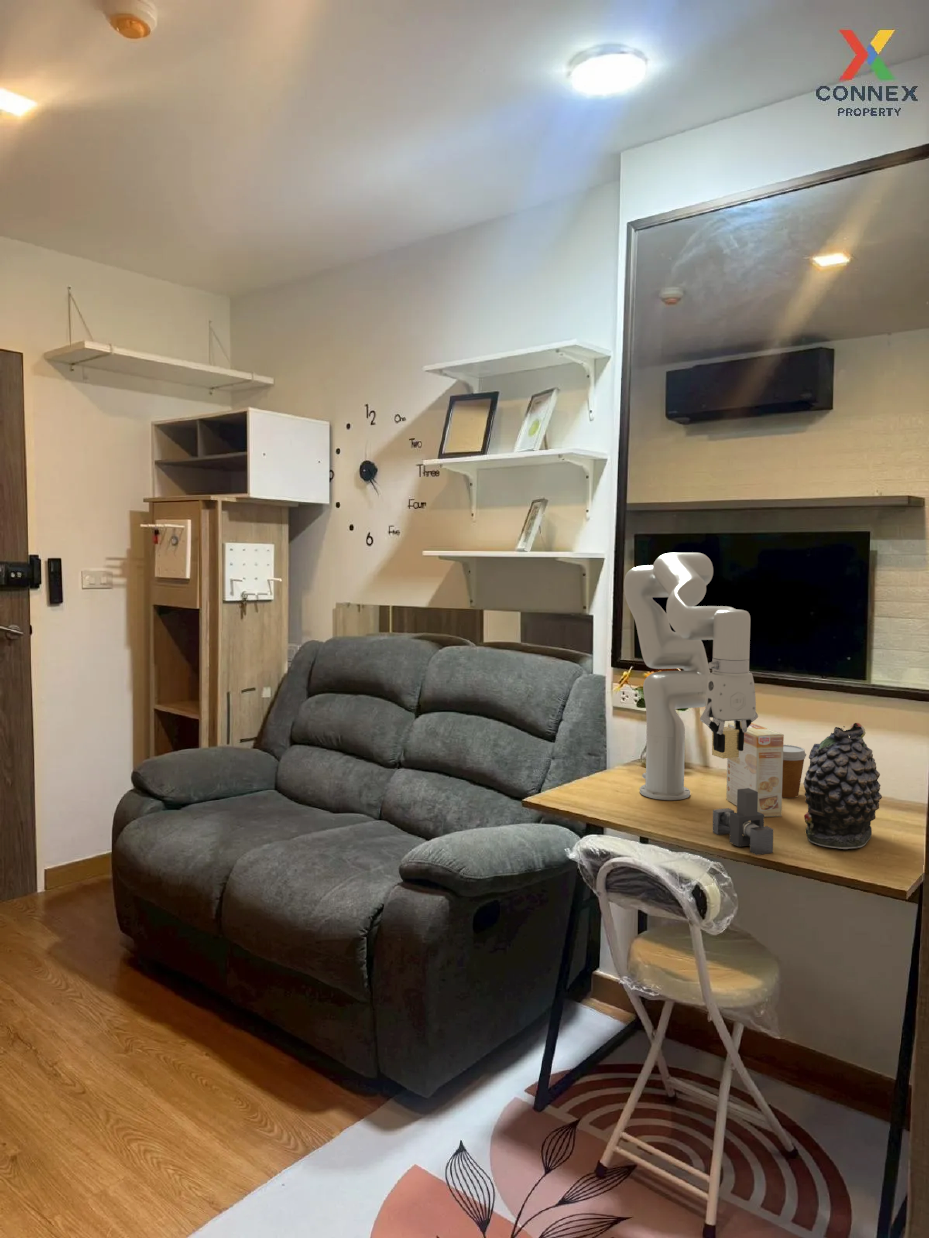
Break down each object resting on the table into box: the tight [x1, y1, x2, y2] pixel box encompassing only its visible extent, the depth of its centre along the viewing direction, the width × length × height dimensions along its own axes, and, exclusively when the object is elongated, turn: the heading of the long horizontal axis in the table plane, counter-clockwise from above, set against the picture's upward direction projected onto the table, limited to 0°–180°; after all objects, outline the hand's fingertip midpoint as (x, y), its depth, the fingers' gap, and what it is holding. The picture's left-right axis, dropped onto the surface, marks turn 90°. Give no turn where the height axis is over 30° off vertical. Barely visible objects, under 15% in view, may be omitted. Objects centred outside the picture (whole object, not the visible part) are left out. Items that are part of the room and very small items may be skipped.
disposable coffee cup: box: [782, 744, 807, 799], centre depth 211 cm, size 10×10×12 cm
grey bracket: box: [729, 788, 765, 848], centre depth 174 cm, size 3×6×11 cm, turn 108°
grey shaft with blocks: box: [712, 807, 774, 856], centre depth 176 cm, size 15×4×5 cm, turn 18°
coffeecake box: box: [725, 722, 785, 818], centre depth 200 cm, size 15×7×20 cm, turn 8°
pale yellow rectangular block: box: [711, 726, 739, 759], centre depth 181 cm, size 4×4×6 cm
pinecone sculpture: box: [803, 722, 883, 850], centre depth 177 cm, size 21×15×25 cm
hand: (728, 749), depth 180 cm, fingers closed on pale yellow rectangular block, 4 cm apart
